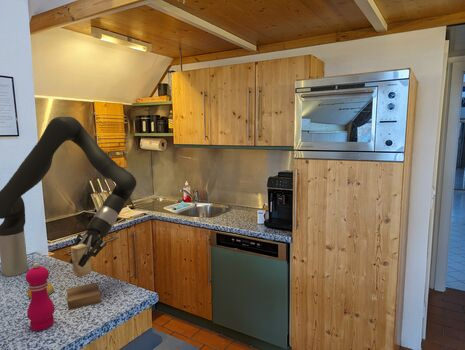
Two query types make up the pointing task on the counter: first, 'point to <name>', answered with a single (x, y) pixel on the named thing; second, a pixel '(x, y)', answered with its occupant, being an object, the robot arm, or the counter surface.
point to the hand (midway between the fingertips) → (76, 264)
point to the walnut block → (83, 295)
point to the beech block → (76, 256)
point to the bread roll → (49, 290)
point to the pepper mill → (39, 298)
